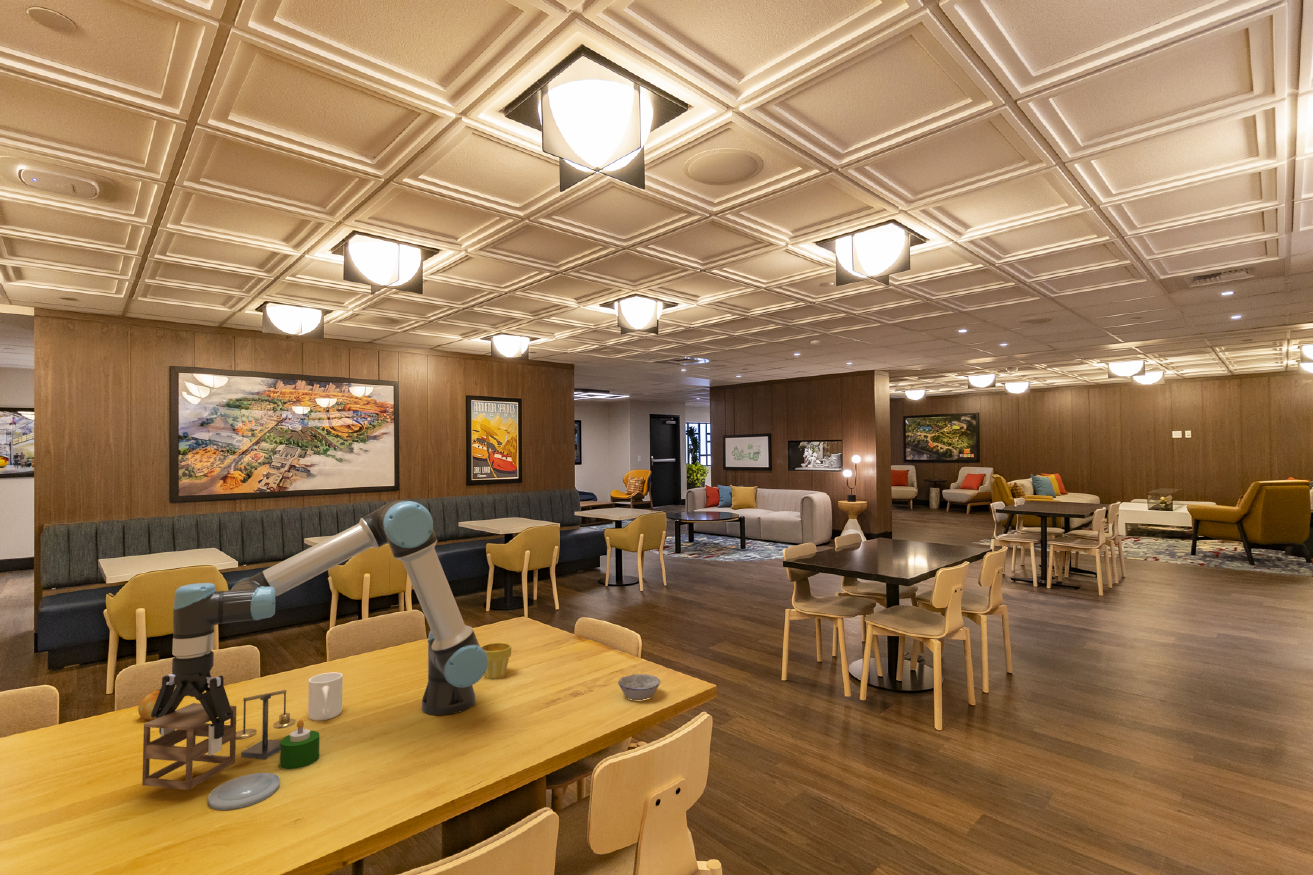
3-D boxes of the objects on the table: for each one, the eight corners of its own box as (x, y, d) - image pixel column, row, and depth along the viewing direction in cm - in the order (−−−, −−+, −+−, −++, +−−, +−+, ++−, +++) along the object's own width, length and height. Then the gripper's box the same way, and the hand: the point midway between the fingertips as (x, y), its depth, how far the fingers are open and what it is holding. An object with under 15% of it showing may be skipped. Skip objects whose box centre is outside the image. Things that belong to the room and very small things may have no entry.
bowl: (614, 703, 182) (614, 687, 182) (623, 687, 194) (623, 672, 195) (657, 705, 180) (657, 688, 180) (663, 689, 193) (663, 674, 193)
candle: (291, 772, 143) (291, 729, 143) (273, 763, 147) (273, 721, 148) (326, 757, 150) (326, 716, 150) (307, 749, 154) (308, 709, 155)
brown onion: (178, 709, 175) (173, 682, 178) (141, 720, 169) (137, 692, 172) (175, 717, 180) (170, 690, 182) (139, 728, 174) (135, 701, 177)
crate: (235, 762, 142) (236, 705, 143) (188, 789, 131) (189, 727, 131) (192, 759, 144) (193, 702, 145) (142, 785, 133) (143, 723, 133)
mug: (307, 728, 167) (307, 688, 167) (308, 712, 177) (309, 675, 178) (342, 721, 171) (342, 682, 171) (341, 706, 182) (342, 670, 182)
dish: (293, 780, 139) (293, 774, 139) (246, 812, 126) (246, 806, 126) (243, 775, 141) (244, 770, 142) (192, 807, 129) (192, 800, 129)
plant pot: (517, 673, 208) (517, 644, 209) (494, 683, 200) (494, 652, 200) (496, 668, 214) (496, 640, 214) (473, 677, 205) (473, 648, 206)
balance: (303, 736, 162) (303, 676, 162) (247, 769, 144) (248, 702, 145) (280, 734, 163) (280, 675, 164) (222, 767, 145) (223, 701, 146)
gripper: (253, 650, 140) (251, 746, 139) (164, 646, 144) (162, 739, 143) (224, 661, 133) (222, 762, 132) (132, 656, 137) (129, 754, 136)
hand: (191, 750), depth 138 cm, fingers closed on crate, 12 cm apart
